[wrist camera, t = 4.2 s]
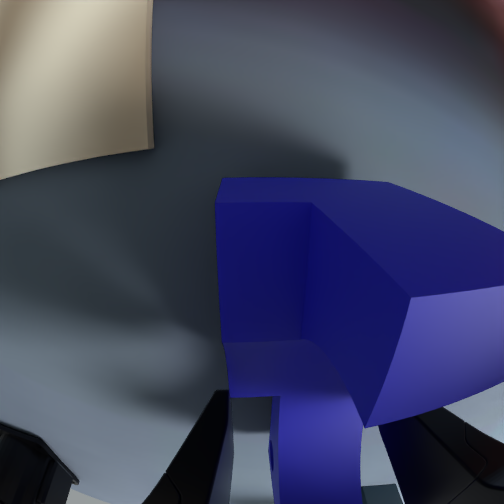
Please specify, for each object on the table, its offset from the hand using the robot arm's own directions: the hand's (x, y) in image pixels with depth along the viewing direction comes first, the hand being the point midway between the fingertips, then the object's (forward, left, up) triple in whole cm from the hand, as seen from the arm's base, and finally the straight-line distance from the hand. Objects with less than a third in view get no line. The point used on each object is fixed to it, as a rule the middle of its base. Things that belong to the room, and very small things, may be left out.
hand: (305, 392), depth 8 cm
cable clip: (0, 0, -2) cm, 2 cm away
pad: (-10, +13, -2) cm, 17 cm away
